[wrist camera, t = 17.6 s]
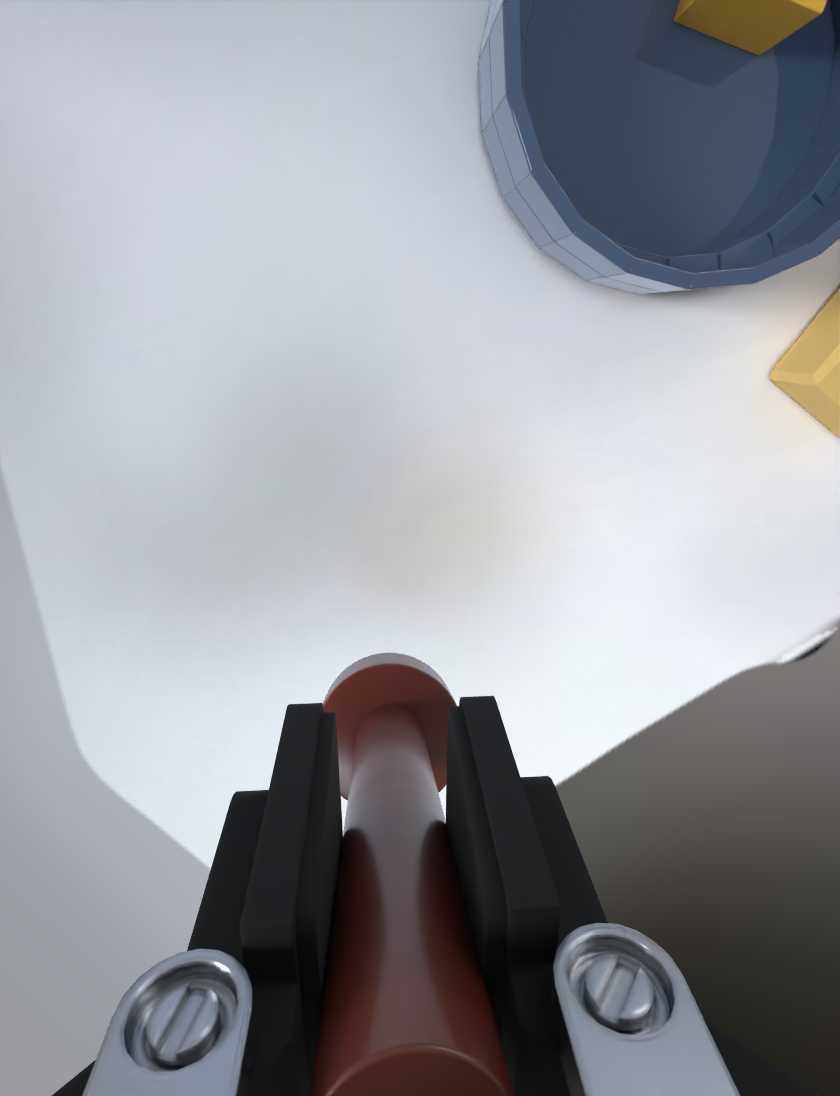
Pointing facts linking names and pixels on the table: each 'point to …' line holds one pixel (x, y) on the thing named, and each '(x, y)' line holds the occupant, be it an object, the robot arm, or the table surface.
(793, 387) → the rubber stamp
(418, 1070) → the red capped peg
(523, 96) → the bowl
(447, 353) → the table surface
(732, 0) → the block
